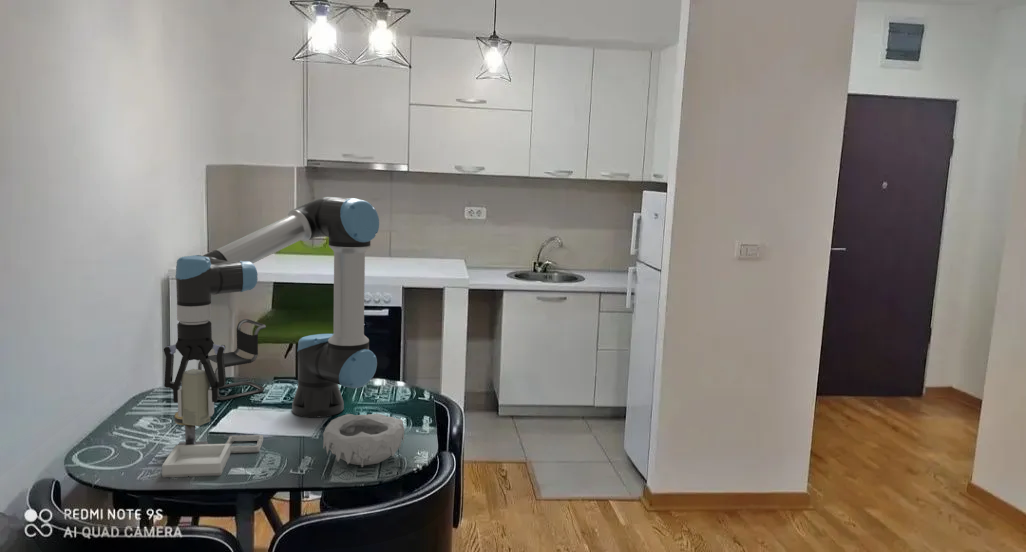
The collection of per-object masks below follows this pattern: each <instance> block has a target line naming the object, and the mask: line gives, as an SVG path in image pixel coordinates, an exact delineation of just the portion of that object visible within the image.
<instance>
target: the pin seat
mask: <svg viewBox="0 0 1026 552" xmlns="http://www.w3.org/2000/svg"><path fill="white" fill-rule="evenodd" d="M234 441H257V443H256V444H255V445H235V446H233V445H232V444H233V443H235V442H234ZM263 441H264V435H263V434H253V435H252V434H251V435H249V434H247V435H229V437H228V439H227V441H226V442H225V444H230V454H238V453H239V454H240V453H241V454H243V453H244V454H245V453H246V454H247V453H259V452H260V450H261V447H262V445H263Z"/></svg>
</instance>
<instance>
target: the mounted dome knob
mask: <svg viewBox="0 0 1026 552" xmlns="http://www.w3.org/2000/svg"><path fill="white" fill-rule="evenodd" d="M173 421H174V423H175V424H176V425H179V426H184V431H185V432H184V433H185V437H184V438H185V441H180V442H178V444H177V445H200V444H209V442H208V441H204V440H203V441H196V426H194V425H189V424H184V423H183V419H182V417H178V411H177V412H175V413H174V416H173Z"/></svg>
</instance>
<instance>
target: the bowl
mask: <svg viewBox="0 0 1026 552" xmlns="http://www.w3.org/2000/svg"><path fill="white" fill-rule="evenodd" d="M322 436H323V439H322V440H323V441H322V442H323V445H322V446H323V447H322V449H323V450H326V454H327V455H328V454H329V451H331V453H332V454H333V455H334V456H335V461H337V462H339V461H340V459H341V460H342V461H344V462H346V463H347V465H349V464H350V465H356V466H360V467H361V468H363V467H364V466H371V465H376V464H380V463H381V462H384V461H385V460H388V459H389V458H390V457H391V456H392V457H394V456H395V454H396V452H397V451H398V450H399V449H400V450H401V446H402V443H403V444H404V440H405V426H404V422H403V419H401V418H396V417H393V416H387V415H384V414H382V413H372V414H371V413H368V414H357V415H355V414H352V413H347V414H344V415H340V416H337V417H335V418H334V419H331V420H330V422H328V424H327V425H326V427H325V428H324V431H323V433H322Z"/></svg>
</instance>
